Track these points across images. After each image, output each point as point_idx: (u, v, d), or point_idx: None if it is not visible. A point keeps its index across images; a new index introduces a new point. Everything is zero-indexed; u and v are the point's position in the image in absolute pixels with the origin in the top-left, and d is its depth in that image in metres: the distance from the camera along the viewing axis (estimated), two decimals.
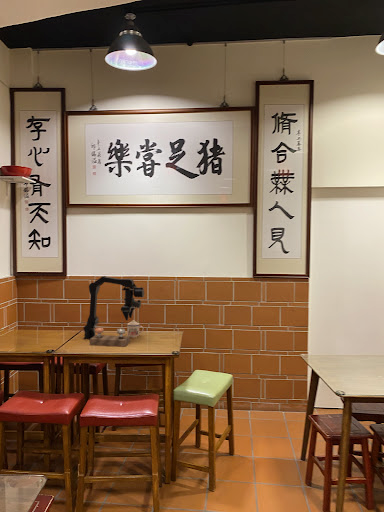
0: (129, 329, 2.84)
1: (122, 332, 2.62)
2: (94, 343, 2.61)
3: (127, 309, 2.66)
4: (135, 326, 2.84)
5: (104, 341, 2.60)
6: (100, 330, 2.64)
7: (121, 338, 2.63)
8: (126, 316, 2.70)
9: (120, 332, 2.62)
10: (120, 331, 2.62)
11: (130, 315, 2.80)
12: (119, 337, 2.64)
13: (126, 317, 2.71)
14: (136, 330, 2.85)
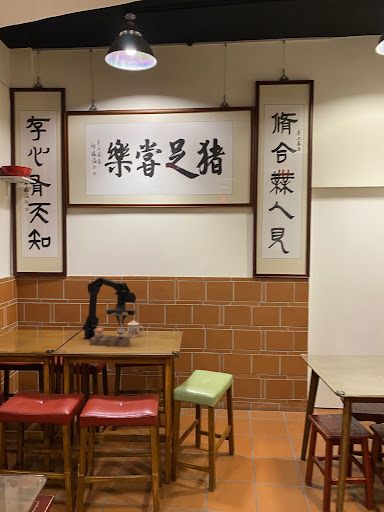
0: (129, 329, 2.84)
1: (122, 332, 2.62)
2: (94, 343, 2.61)
3: None
4: (135, 326, 2.84)
5: (104, 341, 2.60)
6: (100, 330, 2.64)
7: (121, 338, 2.63)
8: None
9: (120, 332, 2.62)
10: (120, 331, 2.62)
11: None
12: (119, 337, 2.64)
13: None
14: (136, 330, 2.85)
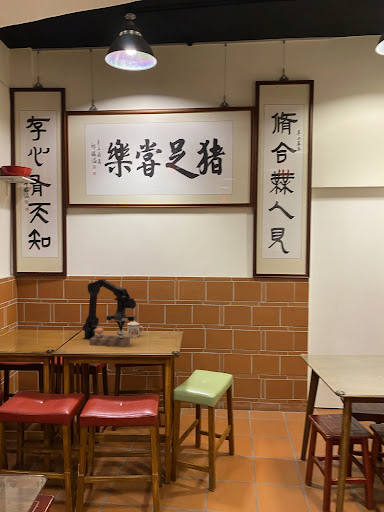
0: (129, 329, 2.84)
1: (122, 333, 2.62)
2: (94, 343, 2.61)
3: None
4: (135, 326, 2.84)
5: (104, 341, 2.60)
6: (100, 330, 2.64)
7: None
8: None
9: (120, 333, 2.62)
10: (120, 332, 2.62)
11: None
12: (119, 338, 2.64)
13: None
14: (136, 330, 2.85)
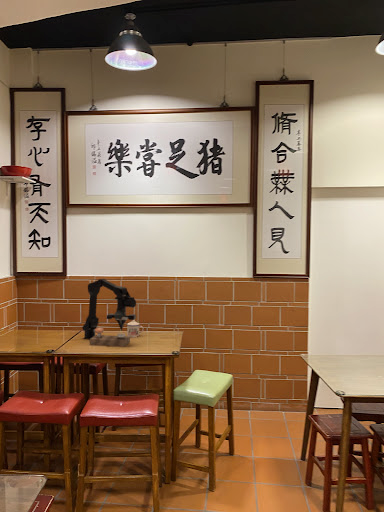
0: (129, 329, 2.84)
1: (122, 337, 2.62)
2: (94, 343, 2.61)
3: None
4: (135, 326, 2.84)
5: (104, 341, 2.60)
6: (100, 330, 2.64)
7: None
8: None
9: (120, 337, 2.62)
10: (120, 336, 2.62)
11: None
12: None
13: None
14: (136, 330, 2.85)
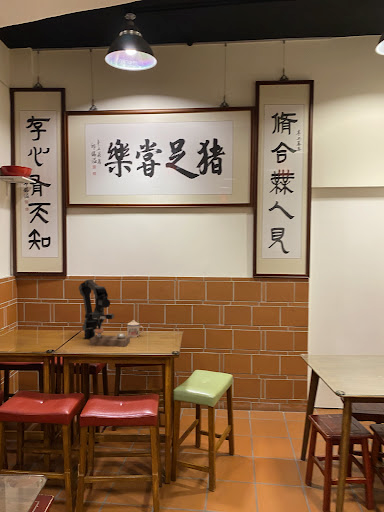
0: (129, 329, 2.84)
1: (122, 337, 2.62)
2: (94, 343, 2.61)
3: None
4: (135, 326, 2.84)
5: (104, 341, 2.60)
6: (100, 330, 2.64)
7: None
8: None
9: (120, 337, 2.62)
10: (120, 336, 2.62)
11: None
12: None
13: None
14: (136, 330, 2.85)
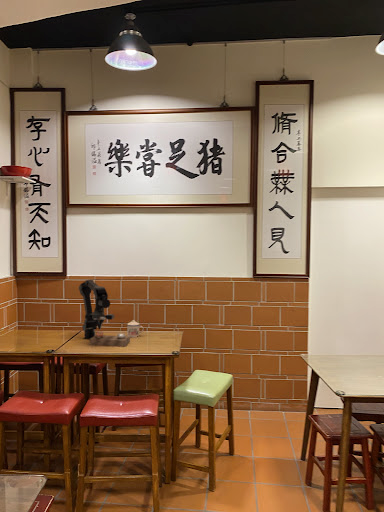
0: (129, 329, 2.84)
1: (122, 337, 2.62)
2: (94, 343, 2.61)
3: None
4: (135, 326, 2.84)
5: (104, 341, 2.60)
6: (100, 334, 2.64)
7: None
8: None
9: (120, 337, 2.62)
10: (120, 336, 2.62)
11: None
12: None
13: None
14: (136, 330, 2.85)
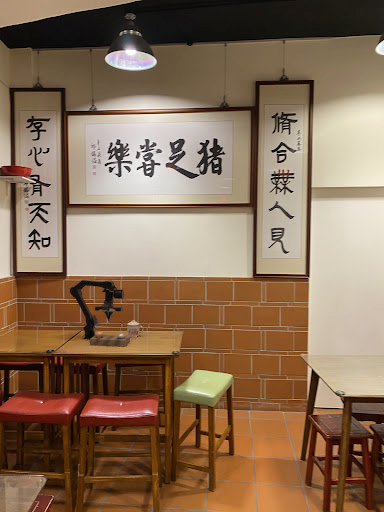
0: (129, 329, 2.84)
1: (122, 337, 2.62)
2: (94, 343, 2.61)
3: None
4: (135, 326, 2.84)
5: (104, 341, 2.60)
6: (100, 334, 2.64)
7: None
8: None
9: (120, 337, 2.62)
10: (120, 336, 2.62)
11: None
12: None
13: None
14: (136, 330, 2.85)
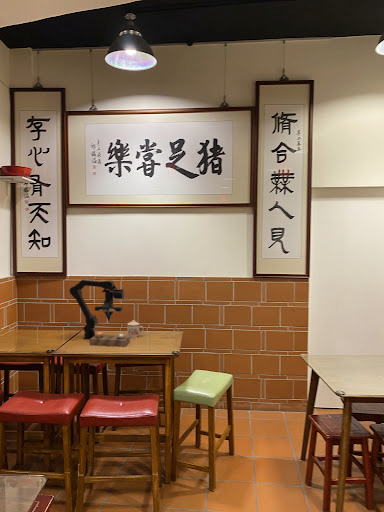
0: (129, 329, 2.84)
1: (122, 337, 2.62)
2: (94, 343, 2.61)
3: None
4: (135, 326, 2.84)
5: (104, 341, 2.60)
6: (100, 334, 2.64)
7: None
8: None
9: (120, 337, 2.62)
10: (120, 336, 2.62)
11: None
12: None
13: None
14: (136, 330, 2.85)
